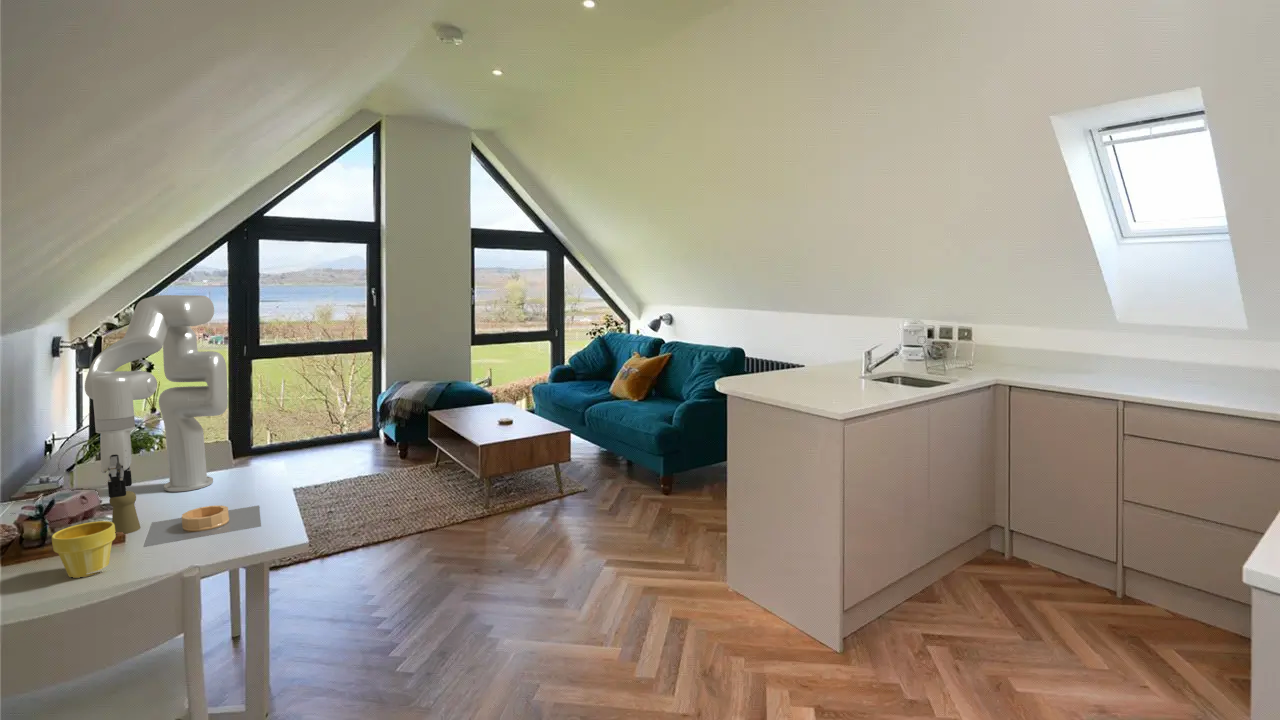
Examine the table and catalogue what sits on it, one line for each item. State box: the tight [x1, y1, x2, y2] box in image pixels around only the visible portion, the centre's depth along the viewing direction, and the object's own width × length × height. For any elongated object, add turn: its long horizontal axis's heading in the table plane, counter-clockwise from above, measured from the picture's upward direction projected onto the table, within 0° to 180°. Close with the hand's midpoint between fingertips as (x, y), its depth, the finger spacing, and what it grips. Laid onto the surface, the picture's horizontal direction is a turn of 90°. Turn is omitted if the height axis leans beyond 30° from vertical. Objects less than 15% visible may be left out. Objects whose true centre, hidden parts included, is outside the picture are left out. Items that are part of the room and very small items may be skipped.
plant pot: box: [51, 520, 117, 579], centre depth 136 cm, size 10×10×10 cm
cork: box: [108, 490, 141, 535], centre depth 156 cm, size 6×6×11 cm
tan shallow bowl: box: [181, 505, 229, 532], centre depth 161 cm, size 10×10×3 cm
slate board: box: [143, 505, 262, 548], centre depth 161 cm, size 18×24×1 cm
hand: (120, 491), depth 155 cm, fingers open, 9 cm apart
